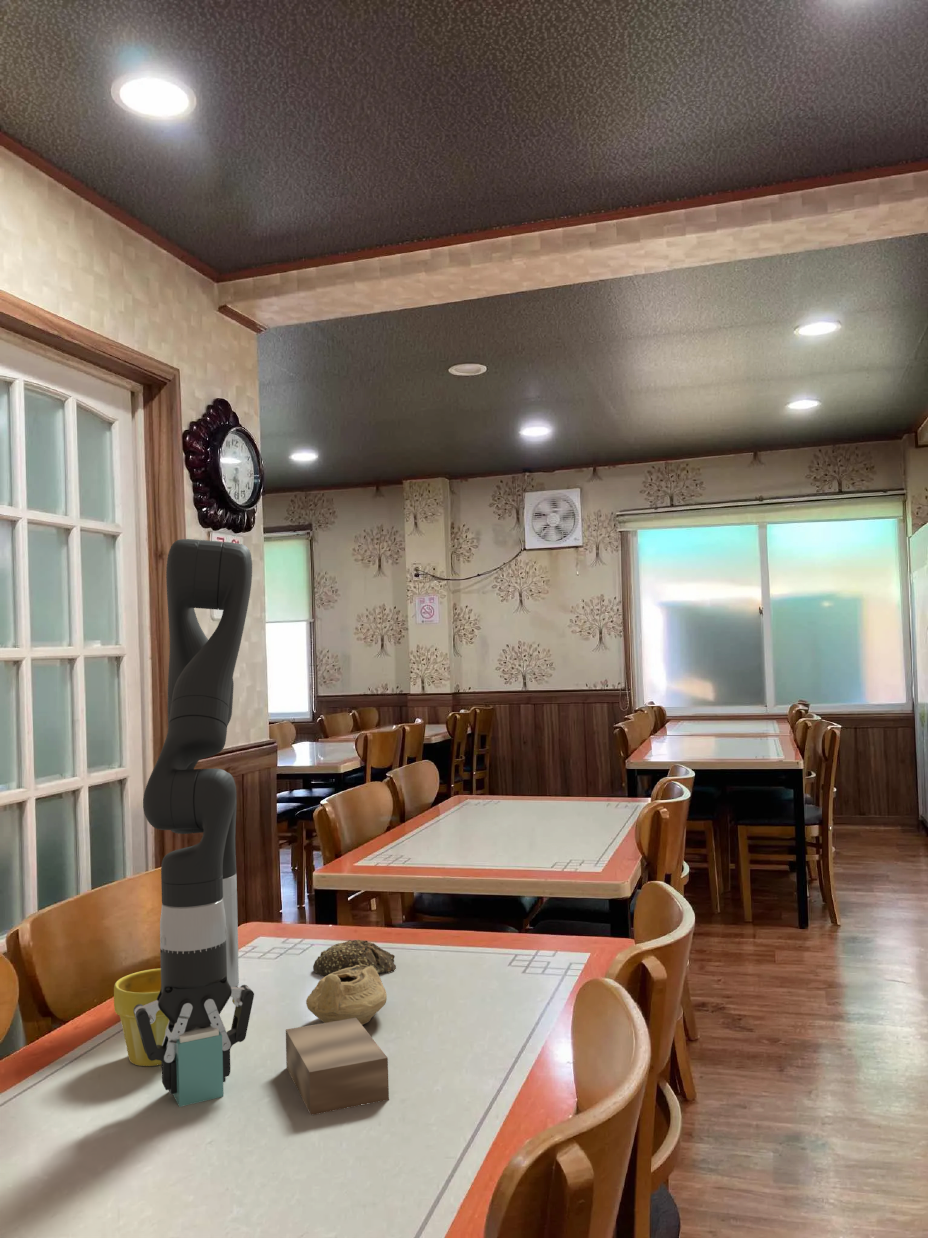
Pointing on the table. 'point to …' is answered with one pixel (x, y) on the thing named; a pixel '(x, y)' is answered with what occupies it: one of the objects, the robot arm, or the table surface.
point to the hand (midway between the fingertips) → (196, 1085)
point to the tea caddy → (199, 1066)
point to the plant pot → (126, 997)
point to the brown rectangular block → (336, 1065)
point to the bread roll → (353, 957)
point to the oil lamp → (348, 995)
